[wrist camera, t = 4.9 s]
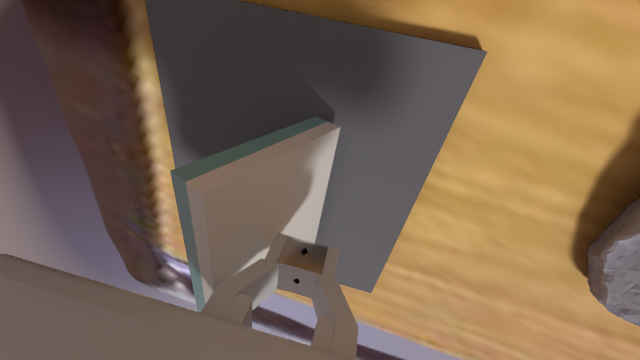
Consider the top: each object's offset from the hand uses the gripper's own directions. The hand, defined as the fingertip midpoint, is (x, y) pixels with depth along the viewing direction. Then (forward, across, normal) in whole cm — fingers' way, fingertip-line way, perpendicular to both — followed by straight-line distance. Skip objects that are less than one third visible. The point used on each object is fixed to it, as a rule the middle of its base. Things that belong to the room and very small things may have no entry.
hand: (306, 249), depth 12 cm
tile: (+5, +1, 0) cm, 5 cm away
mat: (+6, +3, 0) cm, 6 cm away
